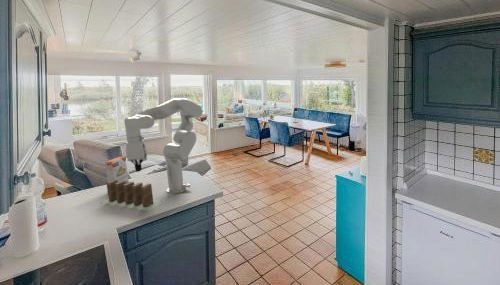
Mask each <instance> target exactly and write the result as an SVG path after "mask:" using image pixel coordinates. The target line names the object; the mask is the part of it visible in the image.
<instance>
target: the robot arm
mask: <svg viewBox="0 0 500 285" xmlns="http://www.w3.org/2000/svg"><path fill="white" fill-rule="evenodd" d="M178 112H179V114H180V119H181V120H180V121H181V122H180V124H179V125H178V127H177V130H176V131H175V133H174V134H173V136H172V139H173V142H174V143H172V142H170V143H167V144H166V145H164V147H163V150H162V152H163V156H164V159H165V166H166V174H167V185H168V188H167V189H166V193H168V194H181V193H183V192H185V191H187V188H191V184H189V183H185V182H184V178H183V177H184V176H183V166H182V161H183V160H186V159H187V158H188V157H189V156H190V154H191V152H192V150H193V148H194V147H195V144H196V142H197V135H196V132H195V131H193V128H194V121H193V119H194V118H195V119H199V118H200V117H201V116H202V115H203V108H202V106H201V105H200V104H198V103H196V102H194V101H192V100H190V99H188V98H185V97H178V98H171V99H170V100H167V101H166V102H164V103H162V104H159V105H158V106H154V107H151V108H148V109H145V110H143V111H140V112H138V113H137V114H134V115H133V116H128V117H125V118H124V120H123V121H124V127H125V128H124V129H125V134H126V142H125V143H126V144H125V152H126V153H125V154H126V160H127V162H131V163H132V164H133V166H134V168H135V171H136V172H141V171H142V164H143V162H145V161H147V160H148V158H147V157H148V153H147V149H146V148H147V147H146V144H145V141H144V139H145V138H144V137H145V136H142V129H147V130H148V129H150V128H152V127H153V126H154V125H155V121H159V120H164V119H167V118H169V117H171V116H172V115H173V116H174V114H176V113H178Z"/></svg>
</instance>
